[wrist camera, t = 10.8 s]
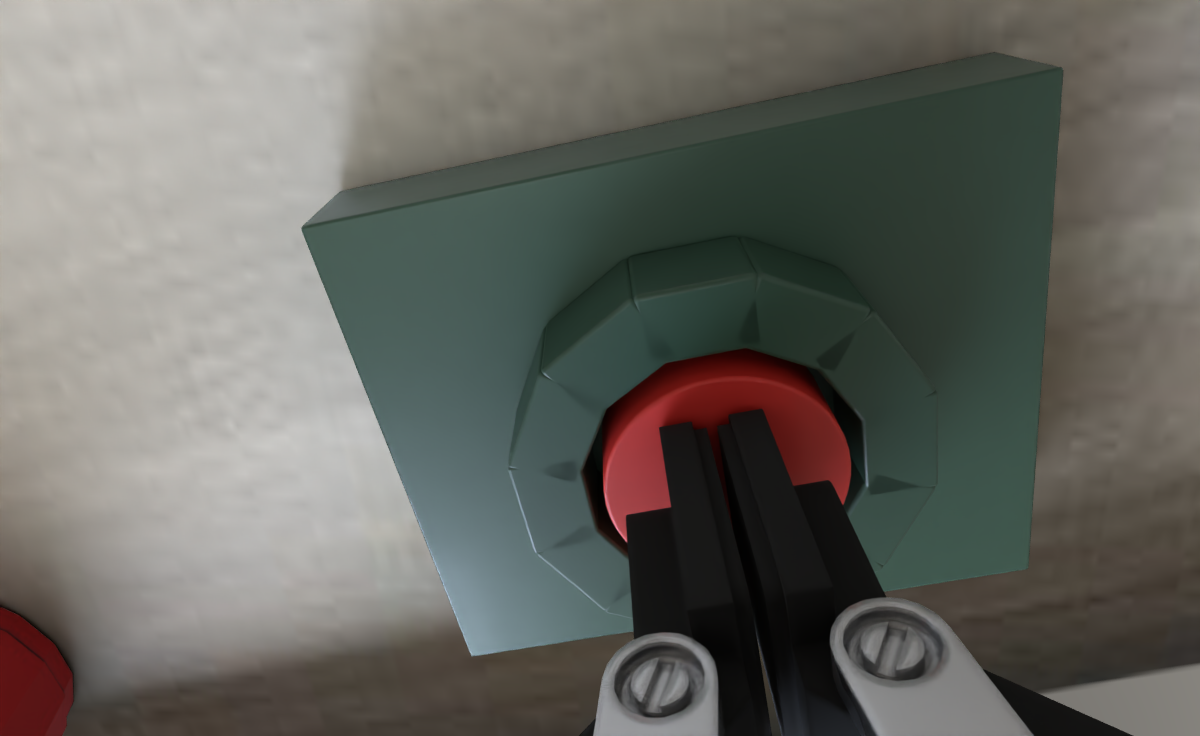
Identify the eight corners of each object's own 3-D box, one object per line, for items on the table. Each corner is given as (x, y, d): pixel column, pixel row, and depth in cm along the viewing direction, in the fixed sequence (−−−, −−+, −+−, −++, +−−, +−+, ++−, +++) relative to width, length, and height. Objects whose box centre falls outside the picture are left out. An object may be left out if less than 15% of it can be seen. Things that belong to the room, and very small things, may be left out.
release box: (996, 51, 13) (1142, 83, 10) (981, 503, 18) (1077, 637, 14) (338, 191, 14) (256, 266, 11) (483, 586, 19) (458, 730, 15)
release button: (814, 307, 13) (845, 355, 11) (830, 496, 15) (858, 559, 13) (580, 352, 13) (579, 404, 12) (624, 531, 15) (627, 596, 14)
